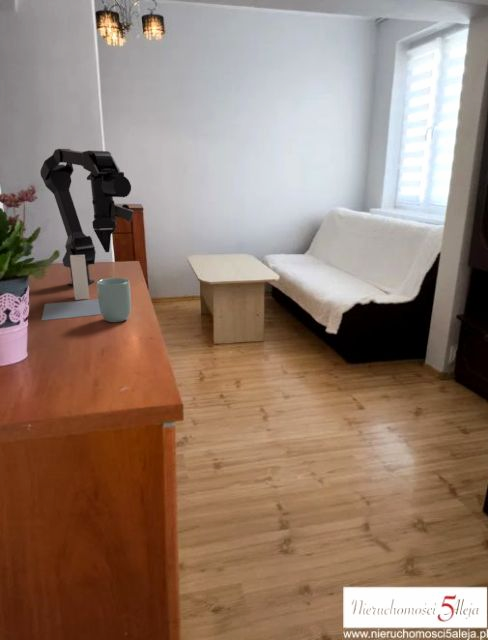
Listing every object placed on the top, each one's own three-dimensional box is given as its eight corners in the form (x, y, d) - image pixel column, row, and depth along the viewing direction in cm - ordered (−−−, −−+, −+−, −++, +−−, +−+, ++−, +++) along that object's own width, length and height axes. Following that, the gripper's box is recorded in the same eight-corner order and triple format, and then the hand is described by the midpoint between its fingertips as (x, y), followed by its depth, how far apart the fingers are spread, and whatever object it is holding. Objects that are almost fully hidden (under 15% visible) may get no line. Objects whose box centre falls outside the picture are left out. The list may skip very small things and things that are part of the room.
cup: (102, 326, 110) (97, 286, 107) (99, 317, 117) (95, 279, 114) (134, 322, 113) (131, 283, 110) (129, 314, 120) (126, 276, 117)
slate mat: (45, 304, 129) (45, 303, 129) (118, 298, 135) (118, 297, 135) (41, 321, 115) (41, 320, 115) (123, 313, 121) (123, 312, 121)
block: (75, 296, 137) (70, 255, 133) (89, 295, 138) (84, 254, 134) (75, 299, 133) (70, 257, 130) (89, 298, 135) (84, 256, 131)
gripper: (131, 197, 127) (136, 253, 132) (130, 194, 144) (133, 244, 149) (89, 198, 124) (95, 255, 129) (93, 195, 141) (98, 245, 146)
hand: (107, 249), depth 138 cm, fingers open, 9 cm apart
